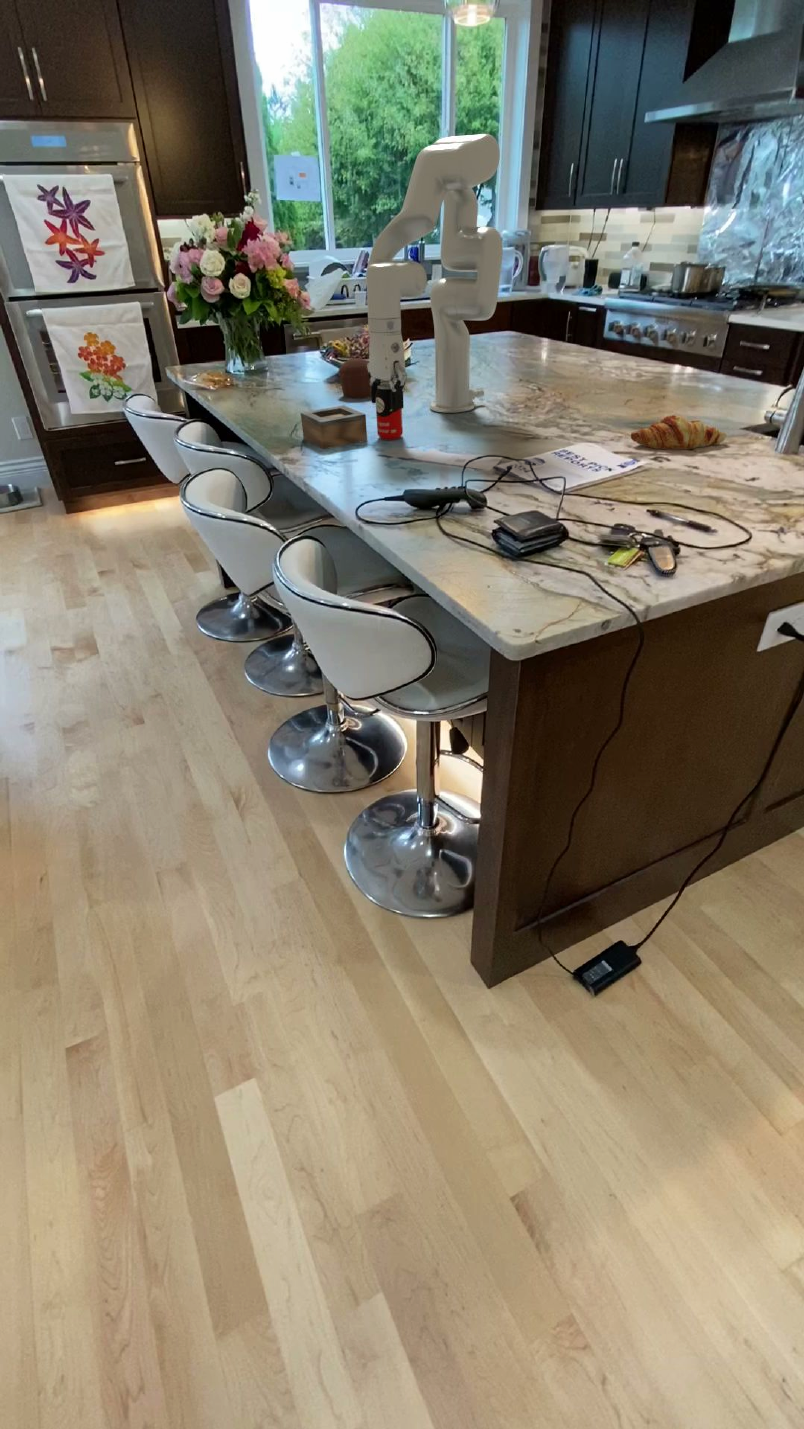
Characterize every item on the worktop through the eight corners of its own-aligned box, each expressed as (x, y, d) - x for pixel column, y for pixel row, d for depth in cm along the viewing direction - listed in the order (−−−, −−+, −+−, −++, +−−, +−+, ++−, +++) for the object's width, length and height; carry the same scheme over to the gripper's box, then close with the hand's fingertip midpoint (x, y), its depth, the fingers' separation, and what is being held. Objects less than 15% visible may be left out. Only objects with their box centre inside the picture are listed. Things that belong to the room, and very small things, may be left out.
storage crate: (345, 430, 189) (343, 405, 185) (367, 440, 180) (365, 414, 176) (303, 438, 184) (300, 412, 180) (323, 449, 175) (320, 422, 172)
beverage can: (378, 434, 184) (375, 383, 177) (403, 433, 184) (401, 382, 177) (377, 441, 179) (374, 389, 172) (402, 440, 179) (400, 388, 172)
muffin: (356, 389, 230) (353, 354, 224) (383, 393, 224) (382, 357, 218) (331, 397, 222) (328, 361, 216) (360, 400, 216) (357, 364, 211)
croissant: (716, 456, 171) (718, 421, 170) (733, 446, 161) (736, 408, 160) (625, 456, 171) (626, 421, 170) (636, 446, 162) (638, 409, 160)
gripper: (418, 328, 162) (418, 409, 172) (381, 322, 175) (383, 398, 185) (388, 331, 159) (391, 413, 169) (353, 324, 172) (357, 401, 182)
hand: (387, 405), depth 177 cm, fingers open, 9 cm apart
